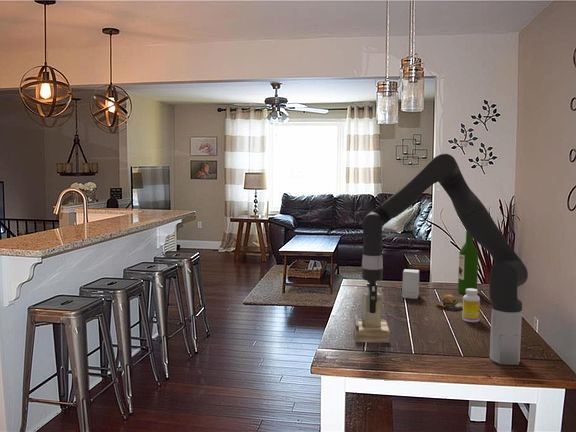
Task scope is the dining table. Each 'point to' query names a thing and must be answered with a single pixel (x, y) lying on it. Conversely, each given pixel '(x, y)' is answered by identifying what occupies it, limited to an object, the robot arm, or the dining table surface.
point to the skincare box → (368, 317)
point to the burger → (450, 303)
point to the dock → (371, 332)
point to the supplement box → (410, 284)
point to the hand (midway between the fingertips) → (371, 309)
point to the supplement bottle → (471, 306)
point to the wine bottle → (468, 266)
